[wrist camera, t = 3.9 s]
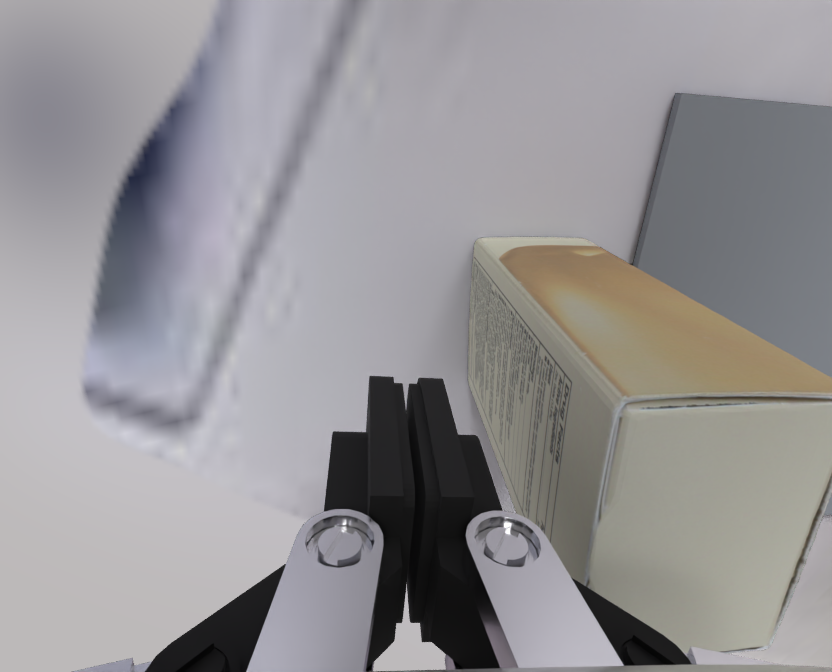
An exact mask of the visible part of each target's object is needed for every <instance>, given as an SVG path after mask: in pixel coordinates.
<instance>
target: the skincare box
mask: <svg viewBox="0 0 832 672" xmlns="http://www.w3.org/2000/svg"><path fill="white" fill-rule="evenodd" d="M468 383H469V386H470V389H471V392H472V394H473V397H474V400H475V402H476V405H477V408H478V411H479V413H480V416H481V419H482V421H483V424H484V426H485V429H486V432H487V435H488V437H489V440H490V443H491V446H492V448H493V451H494V453H495V456H496V459H497V462H498V465H499V467H500V470H501V473H502V475H503V478H504V481H505V483H506V486H507V489H508V491H509V494H510V497H511V500H512V503H513V505H514V508H515V511H516V514H519V515H521V516H523V517H525V518H527V519H529V520H530V521H532V522H533V523H534V524H536V525H537V526H538V527H539V528H540V529H541V530H542V532H543V533H544V534H545V535H546V537H547V539H548V540H549V542H550V543H551V545H552V547H553V548H554V550H555V552H556V553H557V555H558V557H559V558H560V560H561V562H562V563H563V565H564V567H565V568H566V570H567V572H568V573H569V575H570V577H572V578H573V579H575V580H577V581H578V582H580V583H581V584H583V585H584V586H586V587H588V588H589V589H591V590H592V591H594V592H596V593H597V594H599V595H600V596H602V597H604V598H605V599H607V600H608V601H610V602H612V603H613V604H615V605H616V606H618V607H620V608H621V609H623V610H624V611H626V612H628V613H629V614H631V615H632V616H634V617H636V618H637V619H639V620H640V621H642V622H643V623H645V624H647V625H648V626H650V627H651V628H653V629H655V630H656V631H658V632H659V633H661V634H663V635H664V636H665V637H667V638H668V639H669V640H670V641H672V642H673V643H674V644H676V645H677V646H678V647H679V648H680V649H681V651H682V652H684V653H688V651H689V649H690V647H691V646H692V647H697V648H702V649H707V650H712V651H717V652H722V653H727V654H730V653H736V652H745V651H761V650H766V649H767V648H769V647H770V645H771V644H772V642H773V640H774V637H775V634H776V632H777V629H778V628H779V626H780V624H781V621H782V619H783V617H784V614H785V611H786V609H787V608H788V606H789V603H790V599H791V598H792V596H793V593H794V591H795V588H796V585H797V583H798V582H799V578H800V575H801V572H802V570H803V568H804V566H805V563H806V560H807V557H808V554H809V551H810V549H811V547H812V545H813V542H814V540H815V537H816V534H817V531H818V528H819V526H820V523H821V521H822V518H823V515H824V513H825V510H826V507H827V504H828V502H829V499H830V497H831V494H832V378H831V377H830V376H828V375H826V374H824V373H822V372H820V371H818V370H817V369H815V368H813V367H811V366H810V365H808V364H806V363H804V362H803V361H801V360H799V359H798V358H796V357H794V356H792V355H791V354H789V353H787V352H785V351H783V350H782V349H780V348H778V347H776V346H775V345H773V344H771V343H769V342H767V341H766V340H764V339H762V338H760V337H759V336H757V335H755V334H753V333H752V332H750V331H748V330H746V329H745V328H743V327H741V326H739V325H737V324H736V323H734V322H732V321H730V320H729V319H727V318H725V317H724V316H722V315H720V314H718V313H716V312H714V311H712V310H711V309H709V308H707V307H705V306H704V305H702V304H700V303H698V302H696V301H694V300H693V299H691V298H689V297H687V296H686V295H684V294H682V293H681V292H679V291H677V290H676V289H674V288H672V287H670V286H668V285H667V284H665V283H663V282H661V281H660V280H658V279H656V278H654V277H652V276H650V275H649V274H647V273H645V272H643V271H642V270H640V269H638V268H636V267H634V266H633V265H630V264H629V263H627V262H625V261H624V260H622V259H620V258H618V257H616V256H615V255H613V254H611V253H610V252H608V251H606V250H604V249H603V248H601V247H599V246H597V245H596V244H594V243H592V242H590V241H588V240H587V239H584V238H567V237H484V238H479V239H477V240H476V241H475V244H474V253H473V265H472V279H471V294H470V316H469V344H468Z"/></svg>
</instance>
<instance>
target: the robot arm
mask: <svg viewBox="0 0 832 672" xmlns="http://www.w3.org/2000/svg"><path fill="white" fill-rule="evenodd" d="M406 584H407V591H408V604H409V616H410V622H411V623H420V627H421V637H422V642H432V643H434V644H435V645H436V646H437V647H438V648H440V649H441V650H442V651H443V652H444V653H445V654H446V657H445V664H446V670H421V671H420V670H416V671H380V672H832V668H829V667H814V666H793V665H781V664H776V663H771V662H766V661H761V660H756V659H751V658H746V657H742V656H737V655H732V654H727V653H722V652H717V651H712V650H707V649H702V648H697V647H692V646H691V647H690V649H689V651H688V653H684V652H682V651H681V649H680V648H679V647H678V646H677V645H676V644H674V643H673V642H672V641H670V640H669V639H668V638H667V637H665V636H664V635H663V634H661V633H659V632H658V631H656V630H655V629H653V628H651V627H650V626H648V625H647V624H645V623H643V622H642V621H640V620H639V619H637V618H636V617H634V616H632V615H631V614H629V613H628V612H626V611H624V610H623V609H621V608H620V607H618V606H616V605H615V604H613V603H612V602H610V601H608V600H607V599H605V598H604V597H602V596H600V595H599V594H597V593H596V592H594V591H592V590H591V589H589V588H588V587H586V586H584V585H583V584H581V583H580V582H578V581H577V580H575V579H573V578H572V577H570V575H569V573H568V572H567V570H566V568H565V567H564V565H563V563H562V562H561V560H560V558H559V557H558V555H557V553H556V552H555V550H554V548H553V547H552V545H551V543H550V542H549V540H548V539H547V537H546V535H545V534H544V533H543V532H542V530H541V529H540V528H539V527H538V526H537V525H536V524H534V523H533V522H532V521H530V520H529V519H527V518H525V517H523V516H521V515H519V514H516V513H512V512H507V511H502V508H501V505H500V502H499V499H498V496H497V492H496V489H495V486H494V483H493V480H492V477H491V474H490V471H489V468H488V465H487V462H486V459H485V456H484V453H483V450H482V447H481V444H480V441H479V439H478V436H476V435H458V434H457V430H456V426H455V422H454V419H453V415H452V411H451V407H450V404H449V400H448V396H447V393H446V389H445V385H444V381H443V379H434V378H419V379H418V382H417V384H409V388H408V398H407V409H405V401H404V392H403V384H402V383H394V378H393V377H381V376H370V377H369V392H368V409H367V426H366V432H333V435H332V443H331V452H330V461H329V471H328V480H327V489H326V498H325V507H324V512H322V513H320V514H318V515H316V516H313V517H312V518H310V519H309V520H308V521H307V522H306V523H305V524H303V526H302V528H301V529H300V531H299V532H298V534H297V536H296V539H295V542H294V544H293V547H292V550H291V553H290V555H289V558H288V561H287V563H286V564H285V565H283V566H282V567H281V568H279V569H278V570H276V571H275V572H273V573H272V574H270V575H269V576H268V577H266V578H265V579H263V580H262V581H260V582H259V583H257V584H256V585H254V586H253V587H252V588H250V589H249V590H247V591H246V592H244V593H243V594H241V595H240V596H239V597H237V598H236V599H234V600H233V601H231V602H230V603H228V604H227V605H226V606H224V607H223V608H221V609H220V610H218V611H217V612H215V613H214V614H213V615H211V616H210V617H208V618H207V619H205V620H204V621H202V622H201V623H200V624H198V625H197V626H195V627H194V628H192V629H191V630H189V631H188V632H187V633H185V634H184V635H182V636H181V637H179V638H178V639H177V640H175V641H173V642H172V643H171V644H170V645H168V646H167V647H166V648H165V649H164V650H163V651H161V652H160V653H159V654H158V655H157V656H156V657H155V659H154V660H153V661H152V662H147V663H143V664H139V665H134V663H133V658H130V659H126V660H121V661H116V662H112V663H108V664H103V665H99V666H94V667H90V668H86V669H81V670H77V671H73V672H373V664H374V661H375V660H376V659H377V658H378V657H379V656H380V655H381V654H382V653H383V652H384V651H385V650H386V649H387V648H388V647H389V646H390V645H391V644H392V643H393V642H394V639H395V629H396V623H402V619H403V611H404V602H405V593H406ZM378 672H379V671H378Z"/></svg>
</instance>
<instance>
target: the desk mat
mask: <svg viewBox="0 0 832 672" xmlns="http://www.w3.org/2000/svg"><path fill="white" fill-rule="evenodd" d="M633 266H634V267H636V268H638V269H640V270H642V271H643V272H645V273H647V274H649V275H650V276H652V277H654V278H656V279H658V280H660V281H661V282H663V283H665V284H667V285H668V286H670V287H672V288H674V289H676V290H677V291H679V292H681V293H682V294H684V295H686V296H687V297H689V298H691V299H693V300H694V301H696V302H698V303H700V304H702V305H704V306H705V307H707V308H709V309H711V310H712V311H714V312H716V313H718V314H720V315H722V316H724V317H725V318H727V319H729V320H730V321H732V322H734V323H736V324H737V325H739V326H741V327H743V328H745V329H746V330H748V331H750V332H752V333H753V334H755V335H757V336H759V337H760V338H762V339H764V340H766V341H767V342H769V343H771V344H773V345H775V346H776V347H778V348H780V349H782V350H783V351H785V352H787V353H789V354H791V355H792V356H794V357H796V358H798V359H799V360H801V361H803V362H804V363H806V364H808V365H810V366H811V367H813V368H815V369H817V370H818V371H820V372H822V373H824V374H826V375H828V376H830V377H831V378H832V107H829V106H818V105H807V104H796V103H785V102H774V101H763V100H751V99H740V98H729V97H718V96H707V95H696V94H685V93H676V94H675V98H674V102H673V106H672V110H671V114H670V118H669V122H668V126H667V130H666V134H665V138H664V142H663V146H662V150H661V154H660V158H659V162H658V166H657V170H656V174H655V178H654V182H653V186H652V190H651V194H650V198H649V202H648V206H647V210H646V214H645V218H644V222H643V226H642V230H641V234H640V238H639V242H638V246H637V250H636V254H635V258H634V262H633ZM824 515H832V494H831V497H830V499H829V502H828V504H827V507H826V510H825V513H824Z"/></svg>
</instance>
